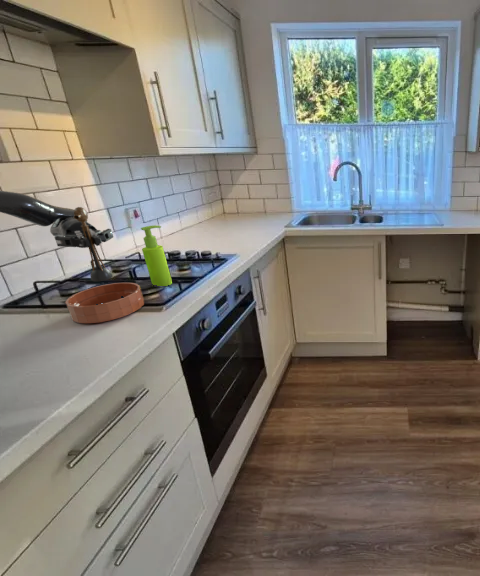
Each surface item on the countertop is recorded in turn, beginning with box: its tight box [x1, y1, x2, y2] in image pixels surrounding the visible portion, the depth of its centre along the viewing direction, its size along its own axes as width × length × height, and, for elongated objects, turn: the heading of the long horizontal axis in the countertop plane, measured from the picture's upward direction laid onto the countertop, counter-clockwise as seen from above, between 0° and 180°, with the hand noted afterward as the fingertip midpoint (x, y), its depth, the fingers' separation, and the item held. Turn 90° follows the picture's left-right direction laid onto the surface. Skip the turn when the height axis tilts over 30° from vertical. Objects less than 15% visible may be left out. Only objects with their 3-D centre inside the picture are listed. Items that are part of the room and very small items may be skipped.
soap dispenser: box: [140, 224, 173, 287], centre depth 120 cm, size 6×7×20 cm
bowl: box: [64, 282, 145, 324], centre depth 104 cm, size 17×17×6 cm
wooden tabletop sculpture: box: [74, 206, 114, 282], centre depth 98 cm, size 6×5×20 cm
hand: (92, 242), depth 96 cm, fingers closed on wooden tabletop sculpture, 1 cm apart
